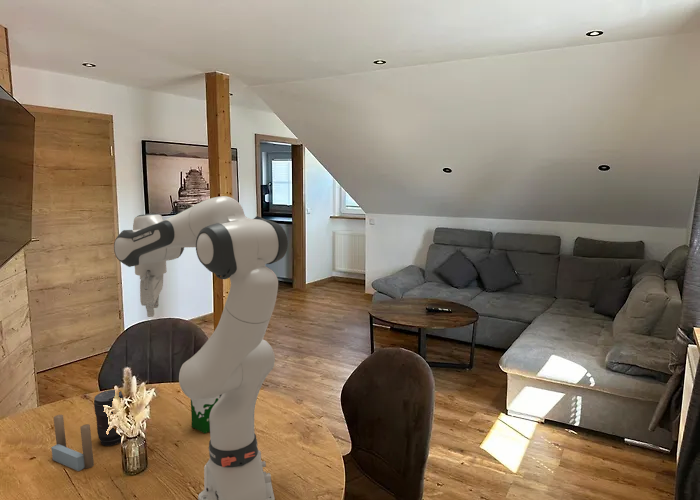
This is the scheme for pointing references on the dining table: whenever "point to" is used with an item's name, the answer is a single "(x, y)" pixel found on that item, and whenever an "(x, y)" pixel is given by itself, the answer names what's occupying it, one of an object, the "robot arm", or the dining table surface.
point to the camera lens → (105, 418)
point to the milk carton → (202, 413)
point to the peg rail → (68, 455)
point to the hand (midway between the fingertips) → (153, 311)
